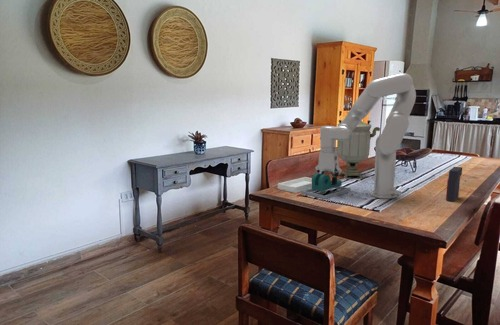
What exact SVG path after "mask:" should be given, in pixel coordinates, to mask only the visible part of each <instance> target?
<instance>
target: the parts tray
mask: <svg viewBox="0 0 500 325" xmlns="http://www.w3.org/2000/svg"><path fill="white" fill-rule="evenodd" d="M311 188H312V177H307V176H303V177H300V178H295V179H291V180H286V181H283V182H278V183H277V189H278V190H281V191H283V192H284V191H285V192H289V193H294V194H297V193H299V192H301V193H302V191H303V190H307V189H311Z"/></svg>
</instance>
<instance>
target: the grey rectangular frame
mask: <svg viewBox="0 0 500 325" xmlns="http://www.w3.org/2000/svg"><path fill="white" fill-rule="evenodd" d="M334 189H337V190H339V191H335V192H331V193H328V194H325V195H322V194H318V193H314V191H316V190H313V189H312V188H311V189H307V190H303V191H301V194H302V195H305V196H310V197H313V198H318V199H323V200H326V199H329V198H333V197H336V196H339V195H343V194H345V193H349V192H351V190H352V188H350V187H345V186H342V185H341V186H338V187H335V188H334Z"/></svg>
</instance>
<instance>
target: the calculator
mask: <svg viewBox="0 0 500 325" xmlns="http://www.w3.org/2000/svg"><path fill="white" fill-rule="evenodd" d="M462 175H463V167H461V166H453V167H452V168H450V169H449V170H448V176H447V178H448V179H447V182H446V183H447V184H446V194H445V195H446V196H445V200H446V201H447V202H455V201H457V199H458V198H459V196H460V195H459V193H460V183H461V181H460V180H461V176H462Z"/></svg>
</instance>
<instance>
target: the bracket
mask: <svg viewBox="0 0 500 325" xmlns="http://www.w3.org/2000/svg"><path fill="white" fill-rule="evenodd" d="M311 178H312V189H313V190H315V191H320V192H326V191H327V190H328V191H329V190H331V189H336V188H335V187H338V186H342V185H343V181H342V180H341V179H337V184H335V185H332V178H331V177H330V175H329V174H325V173H324V174H319V173H318V172H316V173H314V174H313V175H312V177H311Z"/></svg>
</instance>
